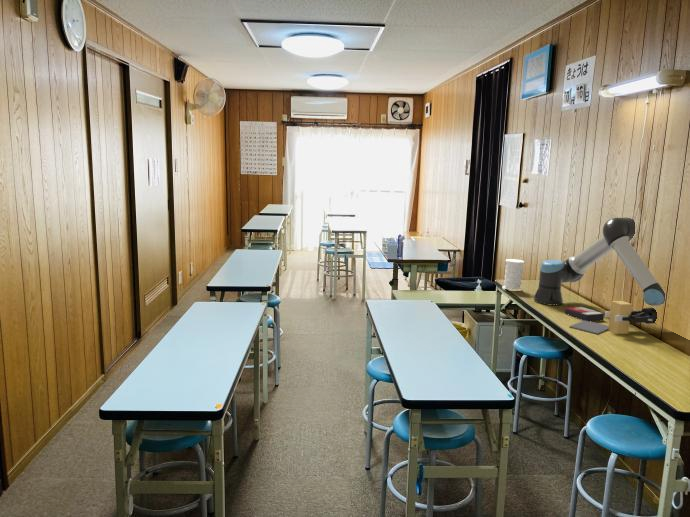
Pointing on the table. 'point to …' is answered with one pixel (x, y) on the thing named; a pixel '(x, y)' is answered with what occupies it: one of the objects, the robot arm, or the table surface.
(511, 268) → the decorative container
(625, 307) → the ochre block
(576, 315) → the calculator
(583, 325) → the charcoal mat
